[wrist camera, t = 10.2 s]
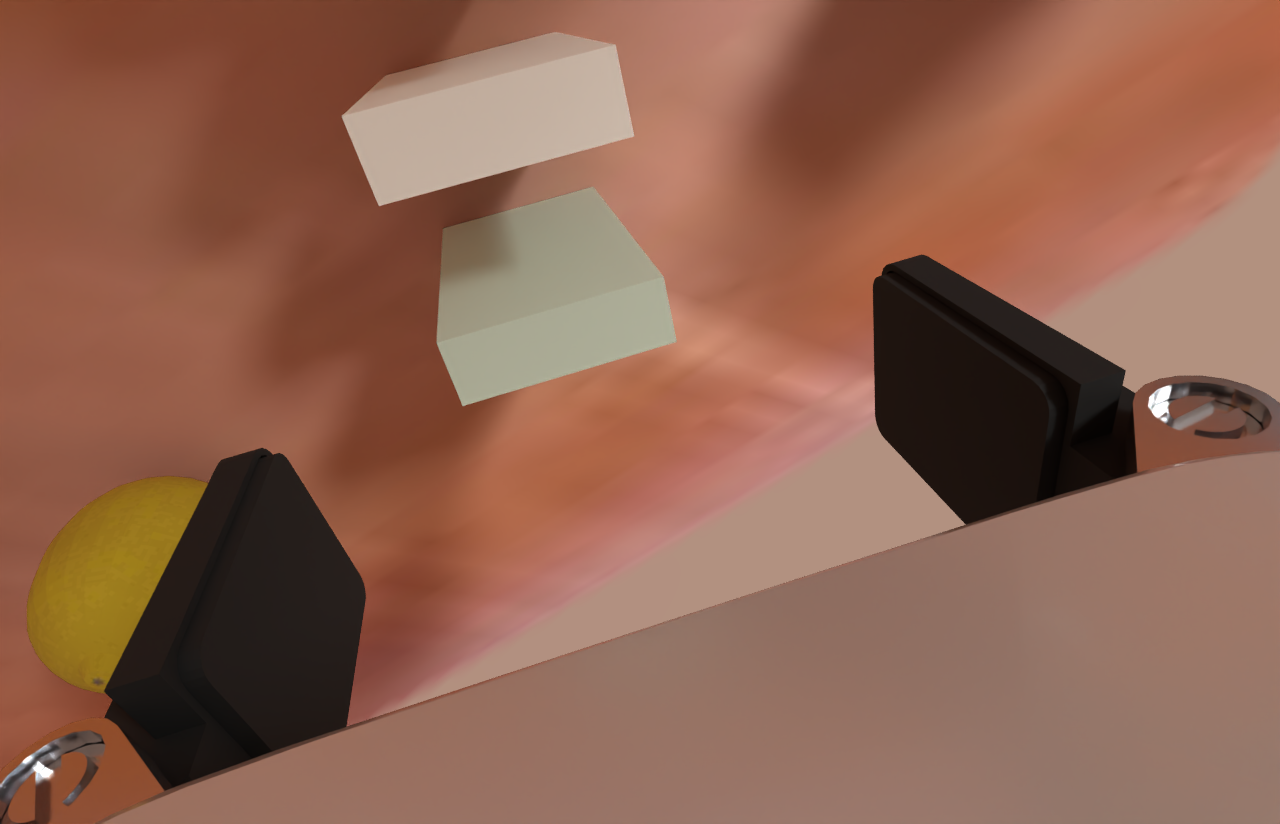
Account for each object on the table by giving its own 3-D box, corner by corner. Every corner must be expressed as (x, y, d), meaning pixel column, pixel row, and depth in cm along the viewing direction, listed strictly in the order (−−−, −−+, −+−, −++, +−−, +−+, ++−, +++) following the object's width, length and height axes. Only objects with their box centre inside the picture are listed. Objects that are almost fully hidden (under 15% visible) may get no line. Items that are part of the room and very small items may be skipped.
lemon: (100, 422, 23) (-52, 597, 16) (286, 443, 24) (222, 608, 18) (107, 553, 25) (-22, 754, 18) (277, 563, 27) (217, 750, 20)
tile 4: (385, 75, 20) (341, 115, 12) (555, 32, 20) (615, 44, 12) (407, 133, 20) (378, 206, 13) (569, 90, 21) (634, 136, 13)
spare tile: (442, 228, 22) (436, 343, 14) (593, 186, 22) (663, 276, 15) (460, 274, 23) (462, 406, 15) (604, 233, 23) (676, 342, 16)
